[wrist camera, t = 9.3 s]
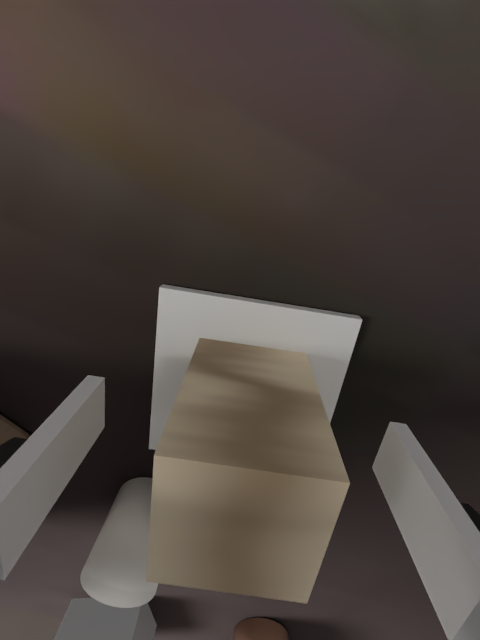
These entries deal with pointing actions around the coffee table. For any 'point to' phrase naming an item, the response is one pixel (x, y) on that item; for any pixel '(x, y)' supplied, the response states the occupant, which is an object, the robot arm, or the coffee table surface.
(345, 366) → the coaster
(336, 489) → the maple block
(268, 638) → the peach capsule
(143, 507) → the grey rounded cylinder
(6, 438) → the wooden block
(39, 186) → the coffee table surface
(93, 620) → the grey box
